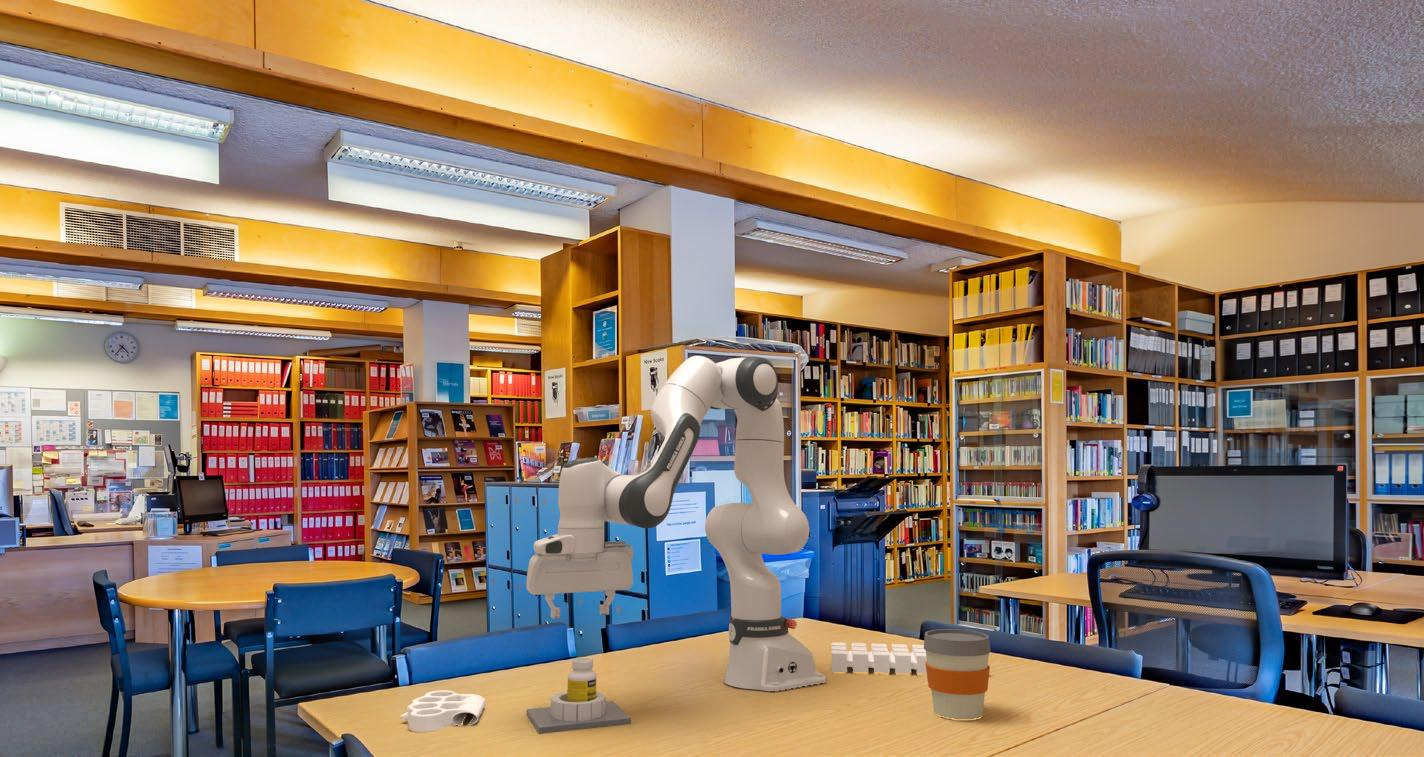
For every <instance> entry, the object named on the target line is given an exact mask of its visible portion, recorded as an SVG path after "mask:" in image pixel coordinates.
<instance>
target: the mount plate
mask: <svg viewBox="0 0 1424 757" xmlns="http://www.w3.org/2000/svg"><path fill="white" fill-rule="evenodd" d="M526 716H527V717H528V718H529V721H531V723H532V725H533V726H534V728H535V729H536V731H537V733H538V734H546V733H547V734H549V733H557V732H565V731H566V732H567V731H574V730H575V731H576V730H584V729H593V728H594V729H595V728H603V727H611V726H613V727H614V726H624V725H629V724H632V717H631V716H630V715H629V714H627V713H626V712H625V710H623V709H622V708H621V707H620V706H619V705H618V704H617V703H616V702H615V701H614V700H606V695H605V694H604V693H602V692H599V691H596V699H594V700H590V701H585V702H567V691H563V692H559V693H556V694H553V695H552V696H551V697H550V706H543V707H537V708H536V707H534V708H526Z"/></svg>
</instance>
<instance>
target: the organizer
mask: <svg viewBox="0 0 1424 757" xmlns="http://www.w3.org/2000/svg"><path fill="white" fill-rule="evenodd" d="M850 646H851V650H847V643H846V642H834V641H833V642H831V649H830V650H831V651H830V652H831V656H830V657H831V660H830V661H831V673H832V672H847V673H848V668H851V669H853V671H852V673H853V672H868V673H869V668H870V669H871V668H872V670H873V669H874V671H873V673H874V672H885V673H890V674H891V672H890V670H891V669H894V668H895V671H894V673H895V672H896V673H911V674H912V670H915V669H916V671H915V673H916V672H917V673H925V674H927V672H926V665H925V663H926V662H927V657H926V650H925V649H924V644H911V652H910V651H909V648H908V645H907V644H906V643H905V644H901V643H900V644H898V643H897V644H896V643H891V651H889V650H888V646H887V644H886V643H873V642H872V643H871V645H870V646H871V651H868V647H867V643H866V642H851V644H850Z"/></svg>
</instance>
